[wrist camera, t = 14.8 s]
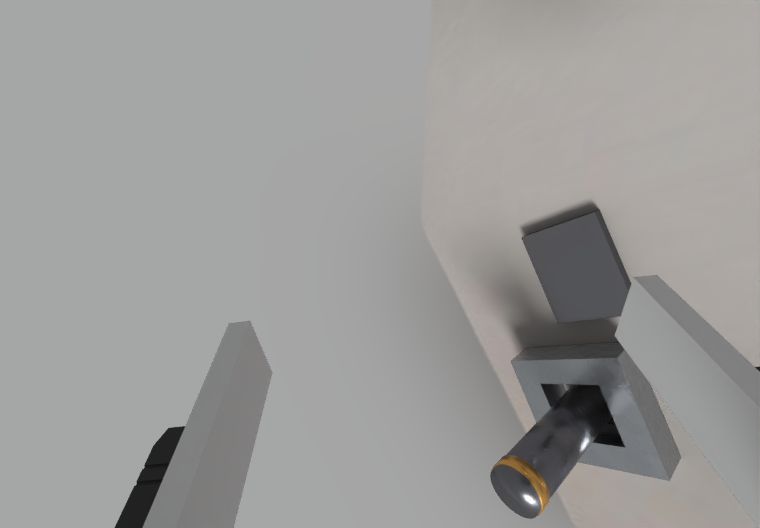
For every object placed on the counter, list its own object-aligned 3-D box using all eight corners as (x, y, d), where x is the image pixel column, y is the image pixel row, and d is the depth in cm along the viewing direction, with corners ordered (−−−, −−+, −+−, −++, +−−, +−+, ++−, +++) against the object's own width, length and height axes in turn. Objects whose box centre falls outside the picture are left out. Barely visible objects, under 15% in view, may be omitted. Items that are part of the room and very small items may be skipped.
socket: (526, 347, 46) (510, 360, 44) (631, 341, 37) (617, 357, 35) (565, 439, 46) (550, 456, 44) (681, 457, 36) (669, 480, 34)
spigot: (566, 375, 43) (481, 460, 34) (608, 376, 40) (526, 472, 30) (582, 414, 43) (502, 509, 34) (626, 418, 39) (548, 527, 30)
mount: (526, 235, 42) (521, 237, 41) (599, 209, 35) (594, 212, 35) (562, 319, 42) (557, 323, 41) (642, 309, 35) (638, 314, 34)
